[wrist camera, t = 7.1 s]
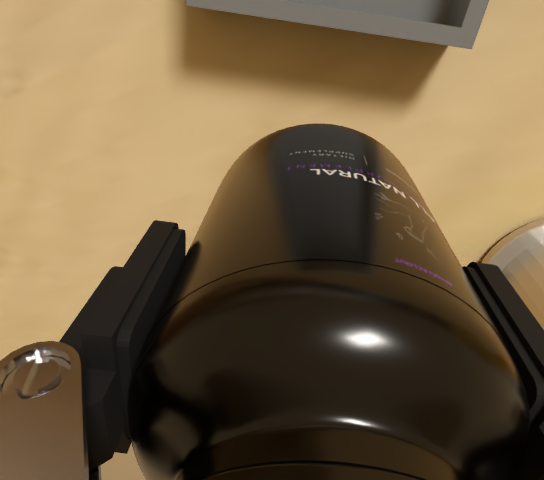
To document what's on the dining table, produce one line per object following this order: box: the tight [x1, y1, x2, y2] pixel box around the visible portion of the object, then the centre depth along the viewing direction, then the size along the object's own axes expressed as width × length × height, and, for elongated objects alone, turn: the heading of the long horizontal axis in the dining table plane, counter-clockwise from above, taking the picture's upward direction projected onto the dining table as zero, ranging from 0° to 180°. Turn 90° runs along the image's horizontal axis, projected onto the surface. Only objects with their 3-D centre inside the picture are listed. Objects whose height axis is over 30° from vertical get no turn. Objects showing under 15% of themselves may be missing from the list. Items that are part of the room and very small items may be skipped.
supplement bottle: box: [127, 124, 530, 480], centre depth 9 cm, size 7×7×12 cm
